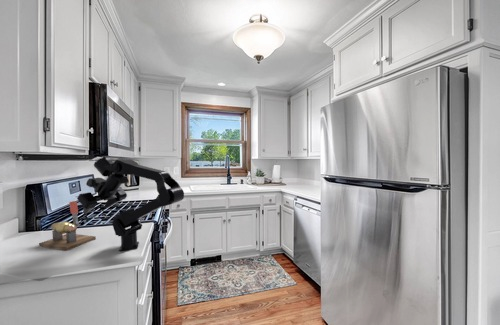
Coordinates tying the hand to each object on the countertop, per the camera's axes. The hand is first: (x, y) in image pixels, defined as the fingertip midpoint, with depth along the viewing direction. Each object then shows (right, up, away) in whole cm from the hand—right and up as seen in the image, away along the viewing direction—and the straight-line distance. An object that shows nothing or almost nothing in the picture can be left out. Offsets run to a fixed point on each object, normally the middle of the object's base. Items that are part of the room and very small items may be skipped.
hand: (95, 210), depth 98 cm
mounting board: (-12, -14, 0) cm, 18 cm away
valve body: (-12, -13, -1) cm, 17 cm away
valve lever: (-11, -8, +3) cm, 14 cm away
